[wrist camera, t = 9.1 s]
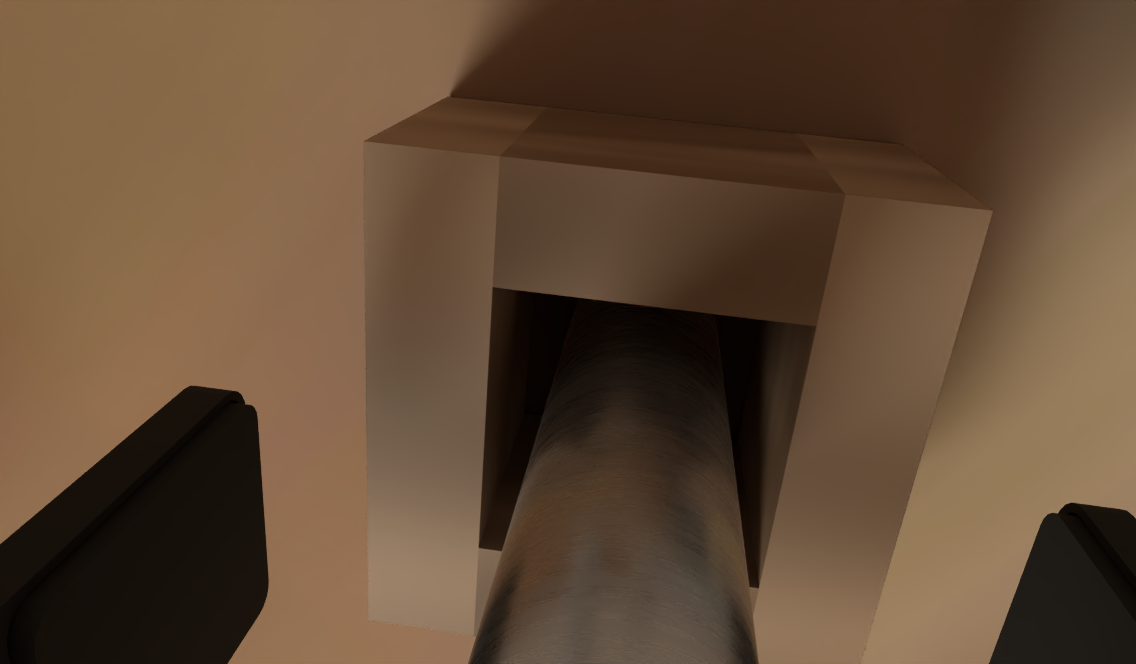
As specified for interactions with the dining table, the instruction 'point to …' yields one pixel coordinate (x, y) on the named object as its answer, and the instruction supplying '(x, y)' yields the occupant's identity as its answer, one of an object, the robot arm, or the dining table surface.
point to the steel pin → (627, 505)
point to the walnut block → (667, 280)
